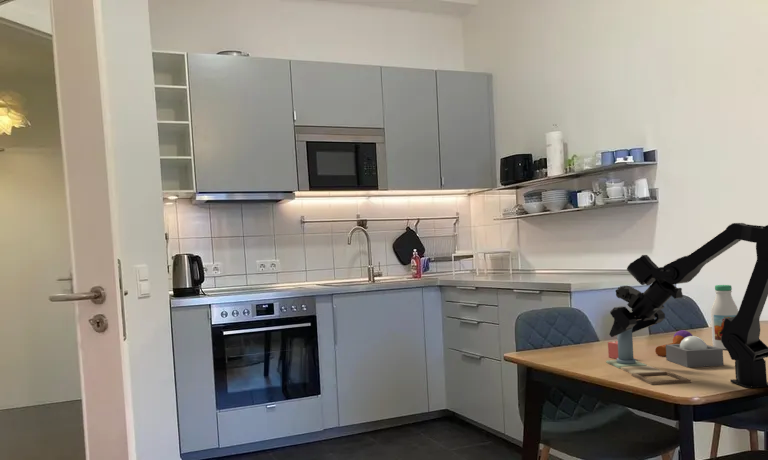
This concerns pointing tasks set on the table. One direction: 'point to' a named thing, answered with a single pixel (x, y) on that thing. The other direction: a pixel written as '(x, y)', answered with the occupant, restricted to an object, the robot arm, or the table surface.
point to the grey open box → (694, 356)
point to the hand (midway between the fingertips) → (620, 333)
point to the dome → (693, 343)
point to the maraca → (676, 340)
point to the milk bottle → (721, 312)
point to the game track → (647, 372)
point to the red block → (613, 349)
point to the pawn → (625, 348)
